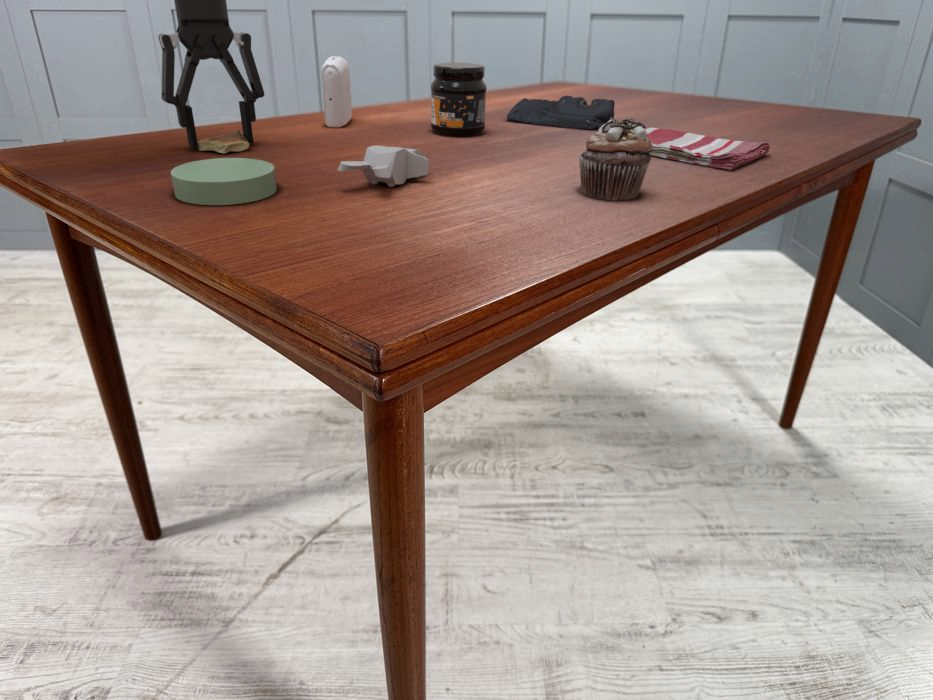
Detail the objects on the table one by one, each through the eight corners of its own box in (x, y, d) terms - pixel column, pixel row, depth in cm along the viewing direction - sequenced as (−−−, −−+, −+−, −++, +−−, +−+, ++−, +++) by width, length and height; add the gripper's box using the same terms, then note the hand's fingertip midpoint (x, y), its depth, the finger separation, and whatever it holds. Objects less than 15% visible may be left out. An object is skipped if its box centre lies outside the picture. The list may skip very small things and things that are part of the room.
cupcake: (620, 181, 99) (630, 111, 94) (658, 199, 91) (671, 123, 86) (563, 186, 96) (570, 113, 91) (597, 204, 88) (606, 126, 83)
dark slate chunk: (523, 110, 153) (524, 88, 151) (618, 119, 146) (621, 96, 144) (500, 121, 141) (501, 97, 138) (603, 131, 133) (606, 106, 131)
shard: (239, 138, 119) (238, 128, 118) (274, 143, 116) (273, 132, 115) (195, 150, 110) (193, 139, 109) (232, 155, 107) (230, 144, 107)
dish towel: (732, 171, 106) (736, 154, 105) (604, 148, 120) (606, 132, 118) (769, 155, 118) (773, 139, 116) (648, 135, 131) (650, 121, 130)
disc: (163, 186, 91) (159, 164, 89) (256, 174, 97) (254, 153, 96) (191, 211, 81) (186, 186, 80) (291, 196, 88) (289, 173, 87)
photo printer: (344, 128, 130) (340, 59, 124) (322, 127, 130) (317, 58, 124) (354, 118, 139) (351, 54, 133) (334, 118, 139) (329, 53, 133)
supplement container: (419, 132, 128) (419, 64, 122) (450, 124, 136) (451, 60, 130) (465, 139, 123) (467, 69, 117) (495, 131, 131) (498, 65, 125)
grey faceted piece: (443, 147, 98) (391, 155, 85) (441, 183, 100) (390, 195, 87) (387, 140, 101) (329, 146, 88) (386, 174, 103) (329, 185, 90)
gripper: (129, -8, 93) (161, 156, 104) (275, -6, 104) (290, 142, 115) (118, -10, 99) (149, 147, 110) (258, -7, 110) (274, 134, 121)
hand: (221, 144), depth 112 cm, fingers closed on shard, 8 cm apart
